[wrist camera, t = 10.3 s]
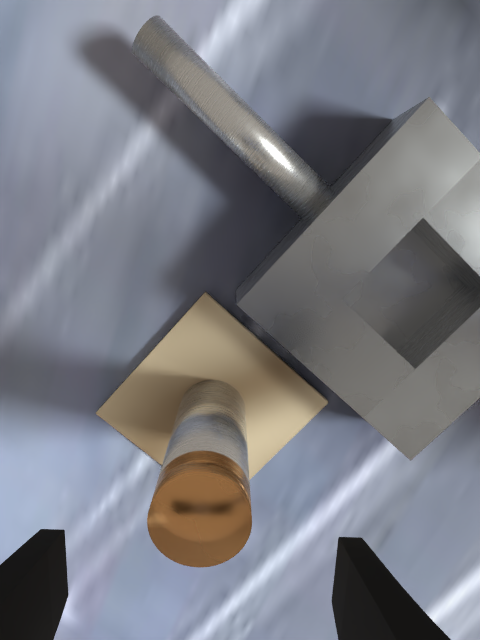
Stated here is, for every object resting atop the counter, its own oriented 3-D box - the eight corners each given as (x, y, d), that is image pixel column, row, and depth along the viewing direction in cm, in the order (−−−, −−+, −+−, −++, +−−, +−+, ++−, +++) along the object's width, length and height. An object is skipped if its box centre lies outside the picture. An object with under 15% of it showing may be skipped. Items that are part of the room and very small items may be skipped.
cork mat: (326, 399, 22) (328, 402, 21) (219, 504, 23) (218, 509, 22) (205, 291, 20) (205, 292, 20) (98, 409, 21) (95, 413, 21)
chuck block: (539, 276, 20) (601, 287, 17) (383, 422, 22) (410, 460, 18) (238, -49, 17) (239, -115, 14) (81, 150, 19) (47, 135, 15)
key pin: (258, 403, 21) (272, 511, 13) (220, 452, 22) (213, 584, 14) (203, 367, 21) (185, 457, 13) (166, 418, 21) (127, 534, 13)
